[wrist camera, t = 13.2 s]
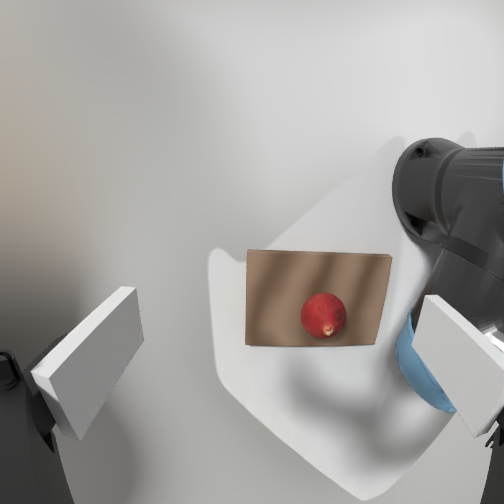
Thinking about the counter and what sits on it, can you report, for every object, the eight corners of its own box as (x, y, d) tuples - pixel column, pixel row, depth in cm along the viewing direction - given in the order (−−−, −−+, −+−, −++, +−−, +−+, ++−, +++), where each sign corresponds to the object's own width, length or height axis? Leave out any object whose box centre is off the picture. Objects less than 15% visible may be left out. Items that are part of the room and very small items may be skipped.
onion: (329, 276, 38) (344, 301, 30) (344, 310, 39) (360, 339, 31) (290, 295, 39) (296, 324, 31) (307, 327, 40) (316, 360, 32)
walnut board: (388, 254, 38) (392, 257, 37) (371, 338, 42) (374, 343, 40) (247, 249, 39) (246, 252, 37) (245, 339, 43) (245, 344, 41)
